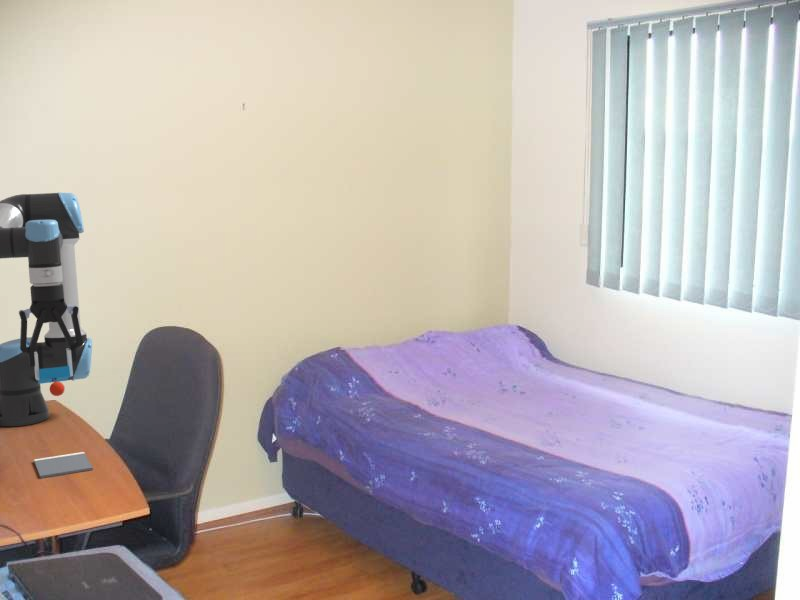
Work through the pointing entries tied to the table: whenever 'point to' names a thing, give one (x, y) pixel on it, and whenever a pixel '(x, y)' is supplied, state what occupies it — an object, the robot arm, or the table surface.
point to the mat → (62, 464)
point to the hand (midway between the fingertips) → (54, 377)
